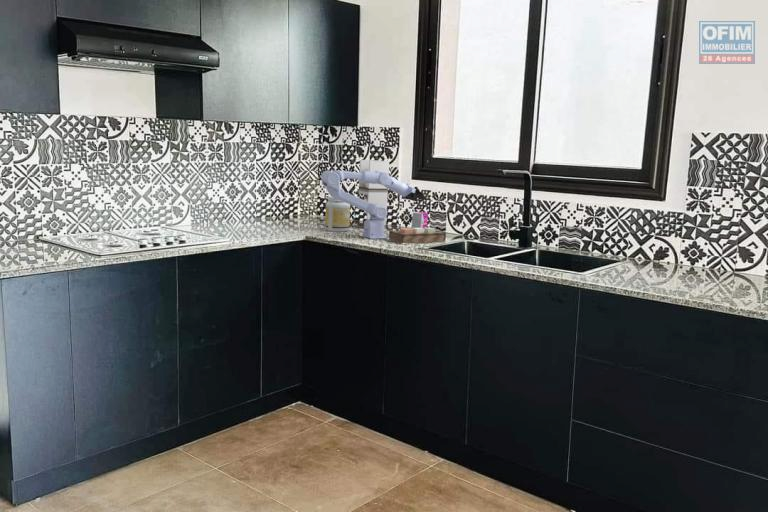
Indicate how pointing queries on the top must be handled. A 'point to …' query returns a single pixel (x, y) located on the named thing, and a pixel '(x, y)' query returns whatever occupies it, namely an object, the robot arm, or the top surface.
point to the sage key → (429, 229)
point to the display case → (374, 185)
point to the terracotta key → (406, 230)
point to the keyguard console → (417, 237)
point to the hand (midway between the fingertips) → (420, 198)
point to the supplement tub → (337, 215)
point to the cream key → (418, 230)
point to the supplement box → (419, 220)
